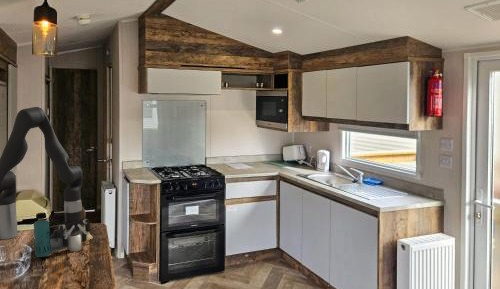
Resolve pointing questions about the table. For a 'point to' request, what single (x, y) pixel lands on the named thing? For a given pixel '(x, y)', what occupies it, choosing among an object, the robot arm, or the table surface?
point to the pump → (75, 241)
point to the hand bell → (84, 226)
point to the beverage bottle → (42, 236)
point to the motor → (56, 239)
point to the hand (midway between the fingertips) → (75, 243)
